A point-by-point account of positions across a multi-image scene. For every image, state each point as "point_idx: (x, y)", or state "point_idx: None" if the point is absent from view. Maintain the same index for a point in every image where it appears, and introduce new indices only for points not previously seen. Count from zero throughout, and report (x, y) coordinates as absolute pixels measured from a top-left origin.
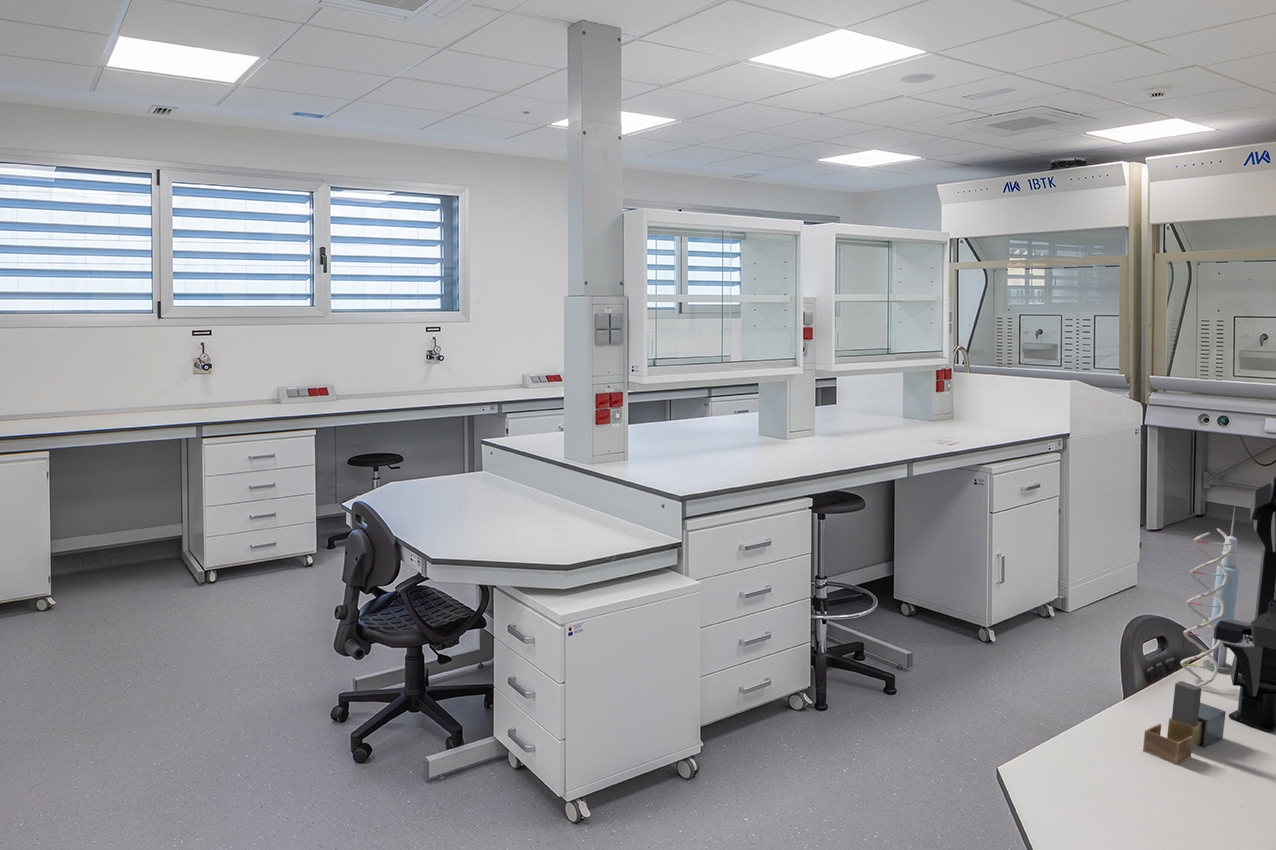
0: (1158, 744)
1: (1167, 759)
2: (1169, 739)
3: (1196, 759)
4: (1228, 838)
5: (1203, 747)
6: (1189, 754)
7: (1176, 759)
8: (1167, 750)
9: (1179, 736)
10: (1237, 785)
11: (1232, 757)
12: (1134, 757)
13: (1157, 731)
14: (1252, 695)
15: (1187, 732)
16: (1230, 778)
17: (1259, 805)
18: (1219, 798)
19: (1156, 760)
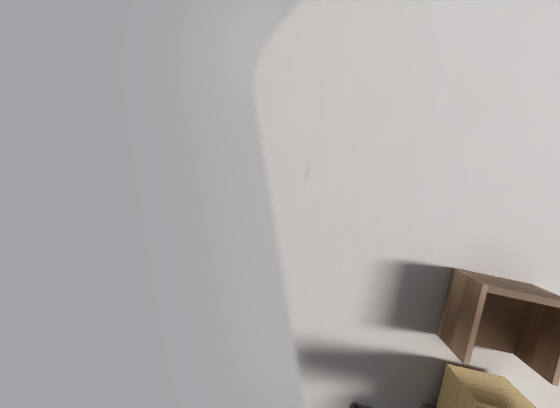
0: (519, 287)
1: (476, 273)
2: (509, 295)
3: (424, 331)
4: (300, 6)
5: (425, 406)
6: (442, 330)
7: (460, 271)
8: (491, 279)
9: (487, 382)
10: (331, 263)
11: (365, 401)
12: (539, 233)
13: (543, 355)
14: (354, 403)
15: (479, 391)
16: (348, 287)
17: (281, 202)
18: (347, 171)
19: (494, 256)
